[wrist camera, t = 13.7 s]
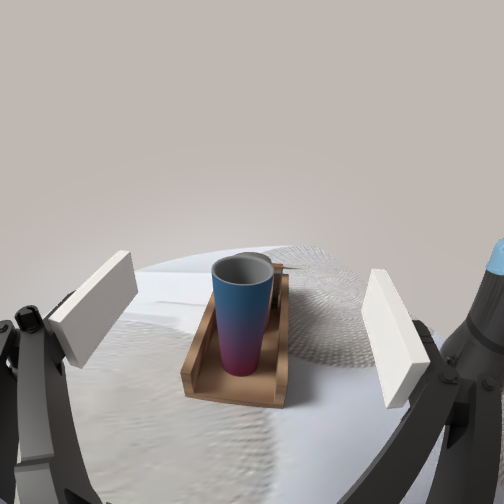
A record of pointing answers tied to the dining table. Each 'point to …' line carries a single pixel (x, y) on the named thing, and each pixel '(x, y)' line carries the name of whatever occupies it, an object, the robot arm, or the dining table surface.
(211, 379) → the wooden tray
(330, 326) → the dining table surface
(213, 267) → the cup
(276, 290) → the pusher
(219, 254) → the dining table surface
